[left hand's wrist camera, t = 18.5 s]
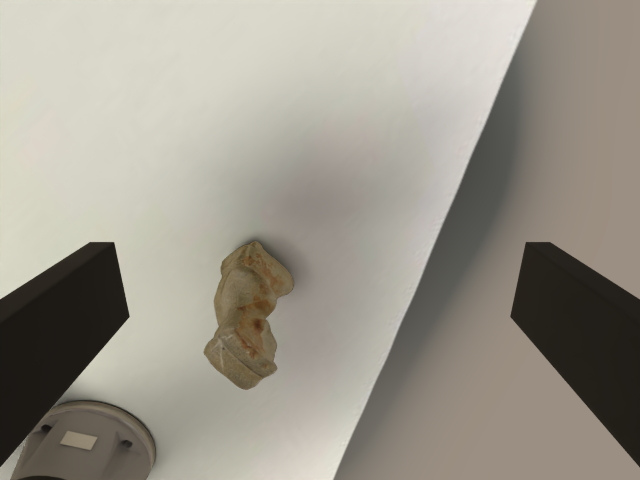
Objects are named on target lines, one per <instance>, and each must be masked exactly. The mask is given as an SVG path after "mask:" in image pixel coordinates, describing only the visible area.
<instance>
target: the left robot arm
mask: <svg viewBox="0 0 640 480" xmlns="http://www.w3.org/2000/svg"><path fill="white" fill-rule="evenodd" d="M129 317H130V316H129V311H128V307H127V302H126V297H125V292H124V287H123V283H122V278H121V273H120V268H119V263H118V259H117V254H116V249H115V244H114V242H90V243H88V244H86V245H85V246H83V247H82V248H80V249H79V250H77V251H75V252H74V253H72V254H71V255H69V256H68V257H66V258H64V259H63V260H61V261H60V262H58V263H57V264H55V265H54V266H52V267H50V268H49V269H47V270H46V271H44V272H43V273H41V274H39V275H38V276H36V277H35V278H33V279H32V280H30V281H28V282H27V283H25V284H24V285H22V286H21V287H19V288H18V289H16V290H14V291H13V292H11V293H10V294H8V295H7V296H5V297H3V298H2V299H0V467H1V466H2V465H3V463H4V462H5V461H6V460H7V459H8V458H9V456H10V455H11V454H12V453H13V452H14V451H15V449H16V448H17V447H18V446H19V445H20V444H21V442H22V441H23V440H24V439H25V438H26V437H27V435H28V434H29V433H30V432H31V433H30V435H29V437H28V439H27V441H26V443H25V446H24V448H23V450H22V453H21V455H20V458H19V460H18V462H17V465H16V467H15V470H14V472H13V474H12V477H11V479H10V480H146V479H147V477H148V475H149V472H150V470H151V468H152V466H153V463H154V460H155V446H154V442H153V440H152V438H151V436H150V434H149V432H148V431H147V430H146V428H145V427H144V426H143V425H142V424H141V423H140V422H139V421H138V420H137V419H135V418H134V417H133V416H131V415H130V414H128V413H126V412H125V411H123V410H121V409H118V408H116V407H113V406H111V405H107V404H104V403H99V402H92V401H75V402H69V403H65V404H62V405H59V406H57V407H55V408H53V409H51V408H52V406H53V405H54V404H55V403H56V402H57V401H58V399H59V398H60V397H61V396H62V395H63V394H64V392H65V391H66V390H67V389H68V388H69V387H70V385H71V384H72V383H73V382H74V381H75V380H76V378H77V377H78V376H79V375H80V374H81V373H82V372H83V370H84V369H85V368H86V367H87V366H88V365H89V363H90V362H91V361H92V360H93V359H94V358H95V356H96V355H97V354H98V353H99V352H100V351H101V349H102V348H103V347H104V346H105V345H106V344H107V342H108V341H109V340H110V339H111V338H112V337H113V335H114V334H115V333H116V332H117V331H118V330H119V328H120V327H121V326H122V325H123V324H124V323H125V322H126V320H127V319H128V318H129ZM511 318H512V319H513V320H514V322H515V323H516V324H517V325H518V326H519V327H520V328H521V330H522V331H523V332H524V333H525V334H526V335H527V337H528V338H529V339H530V340H531V341H532V342H533V344H534V345H535V346H536V347H537V348H538V349H539V351H540V352H541V353H542V354H543V355H544V356H545V358H546V359H547V360H548V361H549V362H550V363H551V365H552V366H553V367H554V368H555V369H556V370H557V371H558V373H559V374H560V375H561V376H562V377H563V378H564V380H565V381H566V382H567V383H568V384H569V385H570V387H571V388H572V389H573V390H574V391H575V392H576V394H577V395H578V396H579V397H580V398H581V399H582V401H583V402H584V403H585V404H586V405H587V406H588V408H589V409H590V410H591V411H592V412H593V413H594V415H595V416H596V417H597V418H598V419H599V420H600V422H601V423H602V424H603V425H604V426H605V427H606V428H607V430H608V431H609V432H610V433H611V434H612V435H613V437H614V438H615V439H616V440H617V441H618V442H619V444H620V445H621V446H622V447H623V448H624V449H625V451H626V452H627V453H628V454H629V455H630V456H631V458H632V459H633V460H634V461H635V462H636V463H637V465H638V466H639V467H640V299H638V298H637V297H635V296H633V295H632V294H630V293H629V292H627V291H626V290H624V289H622V288H621V287H619V286H618V285H616V284H615V283H613V282H612V281H610V280H608V279H607V278H605V277H604V276H602V275H601V274H599V273H597V272H596V271H594V270H593V269H591V268H590V267H588V266H586V265H585V264H583V263H582V262H580V261H579V260H577V259H576V258H574V257H572V256H571V255H569V254H568V253H566V252H565V251H563V250H561V249H560V248H558V247H557V246H555V245H554V244H552V243H550V242H526V244H525V249H524V254H523V259H522V263H521V268H520V273H519V278H518V283H517V288H516V292H515V297H514V302H513V307H512V311H511ZM50 409H51V410H50ZM49 410H50V411H49Z"/></svg>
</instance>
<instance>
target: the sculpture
mask: <svg viewBox="0 0 640 480" xmlns="http://www.w3.org/2000/svg"><path fill="white" fill-rule="evenodd" d="M221 274H222V279H221V281H220V283H219V286H218V289H217V292H216V295H215V298H214V307H215V312H216V317H217V321H218V325H219V327H218V329H217V331H216V333H215V335H214V338H213V339H212V340H211V341H210V342H208V344H207V345H206V347H205V349H204V355H206V357H207V358H208V360H209V362H210V363H211V364H212V365H213V366H214V367H215V368H216V369H217V370H218V371H219V372H220V373H222V374H223V375H224V376H226V377H227V378H228V379H229V380H230V381H232V382H233V383H234V384H235V385H236V386H238V387H240V388H242V389H245V390H248V389H250V388H252V387H255V386H256V385H257V384H258V383H259V382H260V380H262V379H263V378H265V377H267V376H269V375H271V374H273V373H274V372H275V371H276V370H277V366H276V365H275V363H274V362H273V361H274V356H275V351H276V348H277V344H276V341H275V339H274V336H273V334H272V333H271V329H270V325H269V322H268V321H267V320H265V319H266V317H267V316H268V315H269V314H270V313H272V311H273V310H274V309H275V307H276V304H277V298H278V297H281V296H284V295H287V294H288V293H290V292H291V291H292V289H293V286H294V282H293V278H292V276H291V274H290V273H289V272H288V270H287V269H286V268H285V267H284V266H282V265H281V264H280V263H279V262H278V261H277V260H275V259H274V258H273V257H271V256H270V255H269V254H268V253H267V252H266V251H265V250H264V249H263V247H262V245H261V244H260V243H258V242H256V241H254V242H252V243H250V244H248V245H244V246H242V247H240V248H239V249H237V250H236V251H234V252H233V253H231V254H230V255H229V256H228V257H227V258H226V259H224V261H223V262H222V266H221Z"/></svg>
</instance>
